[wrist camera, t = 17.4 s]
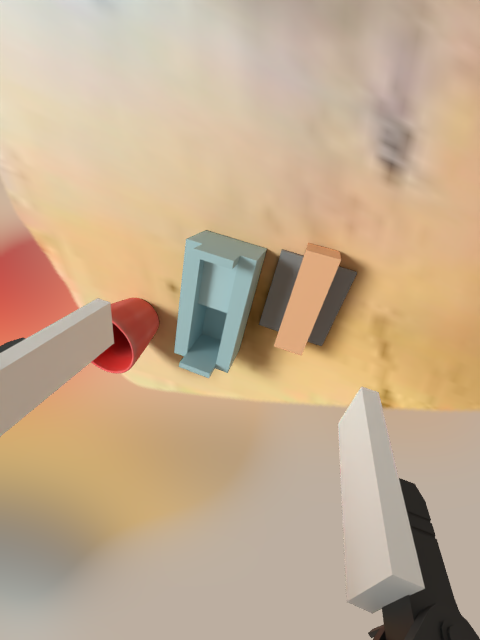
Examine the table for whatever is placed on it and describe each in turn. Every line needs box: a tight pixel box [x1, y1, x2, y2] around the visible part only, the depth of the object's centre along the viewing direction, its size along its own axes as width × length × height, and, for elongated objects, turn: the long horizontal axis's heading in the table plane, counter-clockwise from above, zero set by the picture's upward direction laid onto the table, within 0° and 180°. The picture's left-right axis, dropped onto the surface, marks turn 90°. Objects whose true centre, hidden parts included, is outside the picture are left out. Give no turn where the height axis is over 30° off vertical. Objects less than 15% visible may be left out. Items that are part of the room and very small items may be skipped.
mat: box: [259, 249, 357, 346], centre depth 37 cm, size 12×10×1 cm
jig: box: [174, 230, 267, 378], centre depth 37 cm, size 18×9×9 cm, turn 168°
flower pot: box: [91, 298, 159, 373], centre depth 43 cm, size 11×11×10 cm
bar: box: [274, 243, 341, 355], centre depth 35 cm, size 14×4×4 cm, turn 169°
